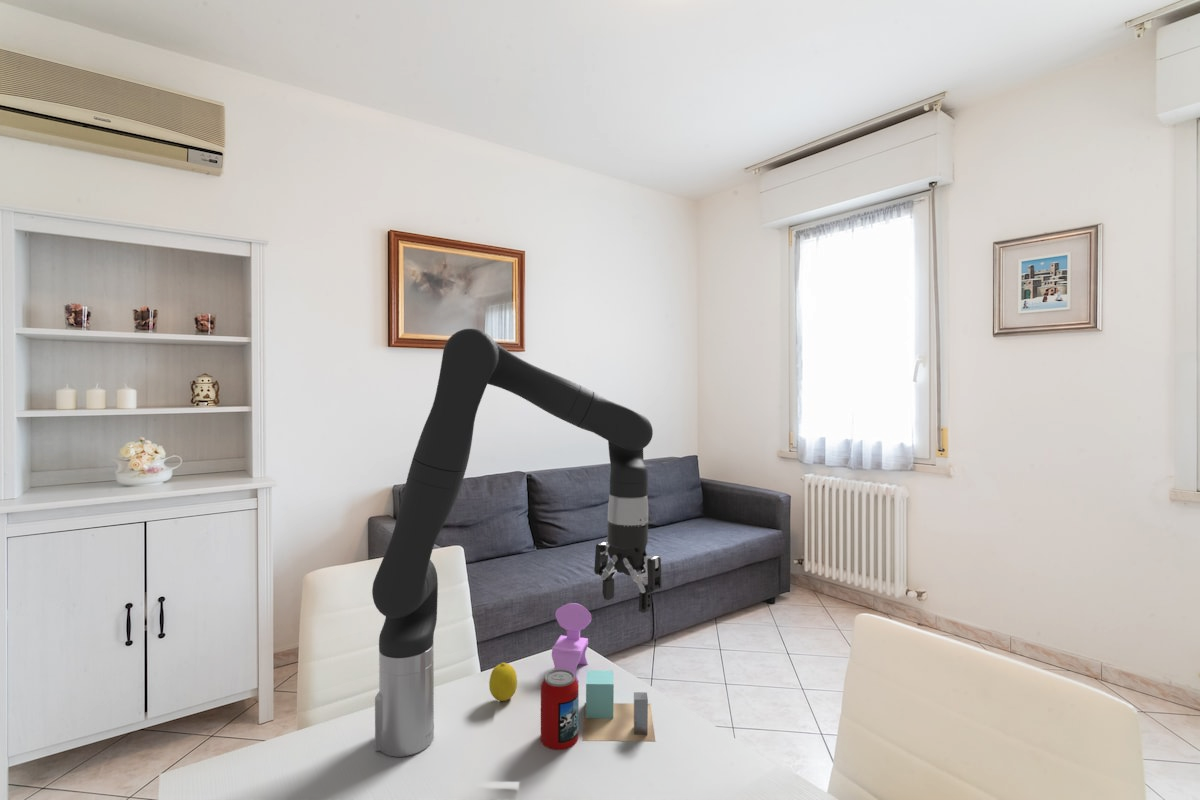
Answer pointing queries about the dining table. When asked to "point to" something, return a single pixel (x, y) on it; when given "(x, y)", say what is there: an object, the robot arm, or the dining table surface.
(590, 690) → the aqua foam cube
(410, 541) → the robot arm
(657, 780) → the dining table surface
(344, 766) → the dining table surface
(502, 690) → the lemon
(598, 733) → the board
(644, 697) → the post
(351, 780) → the dining table surface
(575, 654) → the toy chair
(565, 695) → the beverage can
